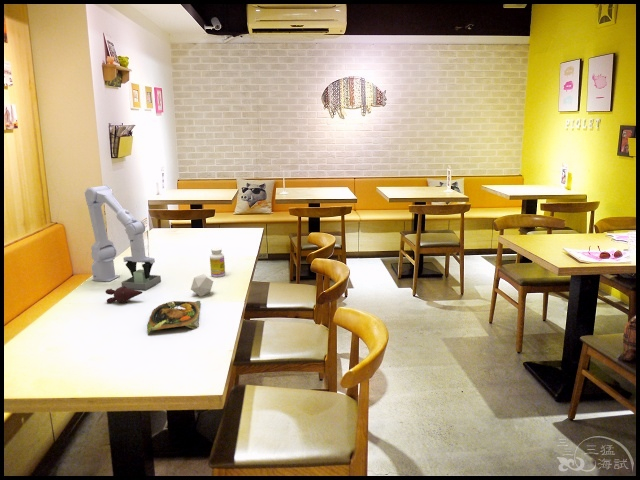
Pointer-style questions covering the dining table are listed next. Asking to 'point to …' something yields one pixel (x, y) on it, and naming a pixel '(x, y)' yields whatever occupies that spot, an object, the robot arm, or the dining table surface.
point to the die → (202, 285)
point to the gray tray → (141, 286)
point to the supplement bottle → (217, 263)
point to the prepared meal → (174, 315)
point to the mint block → (140, 277)
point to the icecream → (122, 294)
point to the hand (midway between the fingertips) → (141, 277)
